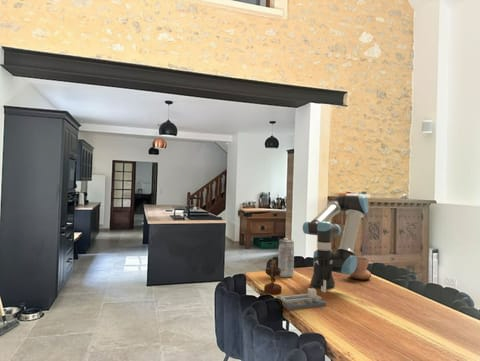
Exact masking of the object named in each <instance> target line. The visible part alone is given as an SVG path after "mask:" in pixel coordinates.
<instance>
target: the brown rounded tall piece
mask: <svg viewBox="0 0 480 361" xmlns="http://www.w3.org/2000/svg"><path fill="white" fill-rule="evenodd" d="M265 273H266V275H268V276H269V277H270V279H269V280H270V283H266V284H265V285H264V288H263V292H264V293H265V294H267V295H274V296H275V295H276V296H278V295H280V294H282V289H283V288H282V285H281V284H279V283H275V282H276V278H275V277H277V276H280V273H281V270H280V268H278V266H277V260H276V259H274V258H273V259H272V260H271V261H270V263H269V266H268V267H266V268H265Z"/></svg>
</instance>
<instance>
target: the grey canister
mask: <svg viewBox="0 0 480 361" xmlns="http://www.w3.org/2000/svg"><path fill="white" fill-rule="evenodd" d="M294 245H295V243H294V241H293V239H288V237H284V238H283V239H279V240H278V255H277V256H278V257H277V258H278V264H277V267H278V268H280V270H281V273H280V275H279V276H280V278H293V276H294V272H295V271H294V270H295V269H294V268H295V261H294V260H295V246H294Z"/></svg>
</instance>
